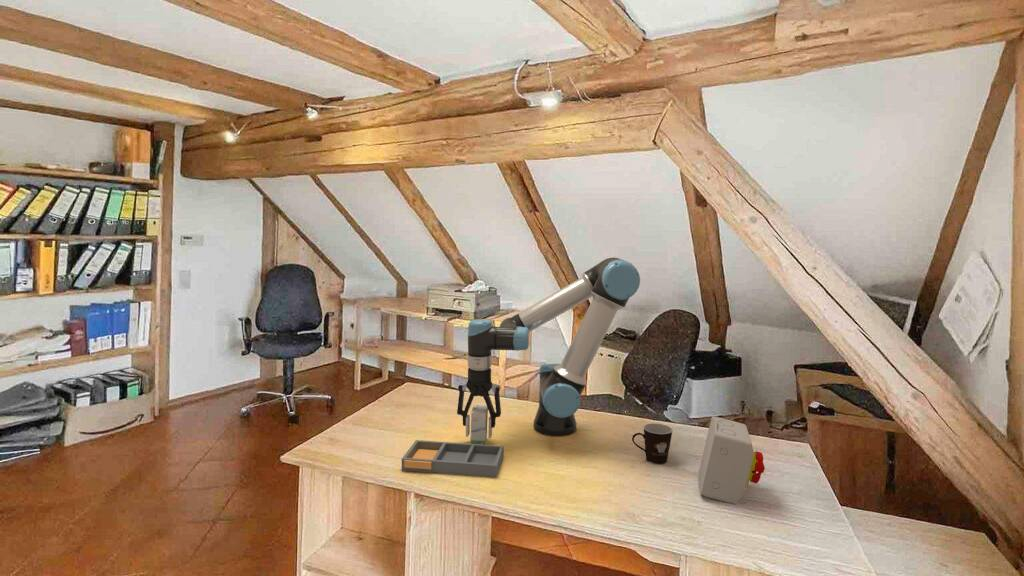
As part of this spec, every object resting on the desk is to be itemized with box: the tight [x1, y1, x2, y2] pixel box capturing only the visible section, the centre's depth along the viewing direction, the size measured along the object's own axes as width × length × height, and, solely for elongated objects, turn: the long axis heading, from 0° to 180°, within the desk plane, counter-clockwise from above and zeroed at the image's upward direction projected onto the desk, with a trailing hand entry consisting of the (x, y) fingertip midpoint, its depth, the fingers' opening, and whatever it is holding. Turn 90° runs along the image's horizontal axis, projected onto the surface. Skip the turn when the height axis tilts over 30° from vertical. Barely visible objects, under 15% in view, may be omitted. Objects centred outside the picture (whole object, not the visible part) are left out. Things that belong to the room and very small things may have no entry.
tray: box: [401, 439, 505, 478], centre depth 167 cm, size 28×15×4 cm, turn 83°
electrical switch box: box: [698, 415, 766, 505], centre depth 151 cm, size 15×15×20 cm
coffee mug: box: [631, 422, 674, 465], centre depth 172 cm, size 12×9×10 cm
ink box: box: [469, 404, 489, 445], centre depth 181 cm, size 9×5×12 cm, turn 179°
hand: (478, 435), depth 182 cm, fingers open, 7 cm apart
